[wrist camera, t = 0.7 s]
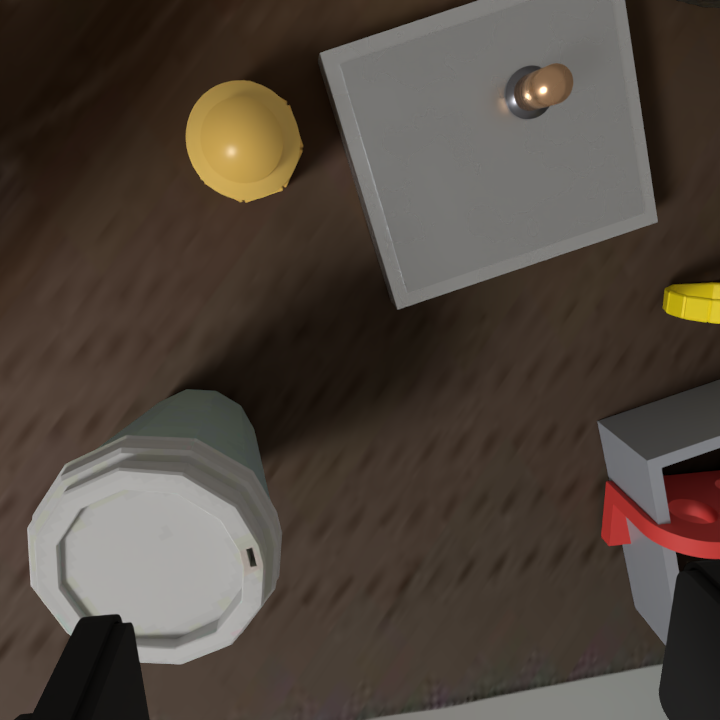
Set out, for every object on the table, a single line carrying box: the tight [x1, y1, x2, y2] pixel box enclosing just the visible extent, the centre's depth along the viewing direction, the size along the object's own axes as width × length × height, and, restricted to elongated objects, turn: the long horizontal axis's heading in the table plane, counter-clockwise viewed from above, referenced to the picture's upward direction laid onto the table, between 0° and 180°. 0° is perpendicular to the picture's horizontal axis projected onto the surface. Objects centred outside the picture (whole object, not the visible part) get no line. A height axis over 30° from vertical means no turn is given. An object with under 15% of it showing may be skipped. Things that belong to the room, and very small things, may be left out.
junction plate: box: [318, 0, 658, 310], centre depth 32 cm, size 16×14×6 cm
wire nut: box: [186, 80, 303, 203], centre depth 31 cm, size 5×5×6 cm
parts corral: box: [597, 380, 720, 645], centre depth 41 cm, size 10×17×6 cm, turn 18°
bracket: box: [601, 470, 720, 559], centre depth 40 cm, size 12×4×8 cm, turn 92°
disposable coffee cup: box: [27, 389, 282, 664], centre depth 31 cm, size 11×11×15 cm
